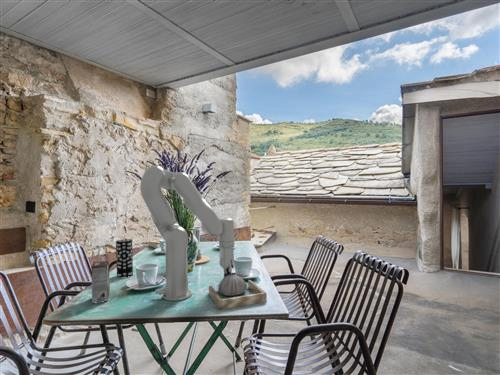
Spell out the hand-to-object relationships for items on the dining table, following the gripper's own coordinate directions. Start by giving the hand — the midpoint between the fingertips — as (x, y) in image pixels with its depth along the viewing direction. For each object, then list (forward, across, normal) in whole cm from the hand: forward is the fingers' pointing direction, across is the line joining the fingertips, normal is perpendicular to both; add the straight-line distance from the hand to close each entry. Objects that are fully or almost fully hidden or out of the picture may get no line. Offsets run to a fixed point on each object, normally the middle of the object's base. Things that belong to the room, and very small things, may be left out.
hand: (227, 281), depth 141 cm
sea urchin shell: (+3, +8, 0) cm, 8 cm away
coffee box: (+3, -9, -56) cm, 57 cm away
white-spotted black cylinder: (+3, -43, -47) cm, 64 cm away
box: (+3, +14, 0) cm, 14 cm away
